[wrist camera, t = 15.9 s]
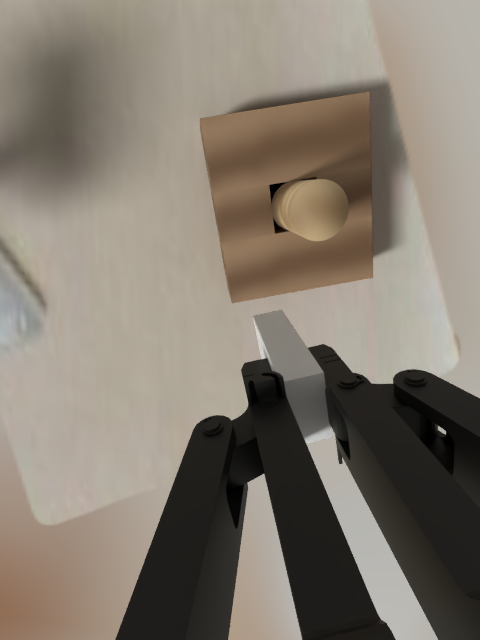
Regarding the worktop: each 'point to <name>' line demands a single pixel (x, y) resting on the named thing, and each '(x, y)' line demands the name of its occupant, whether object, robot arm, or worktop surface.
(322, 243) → the socket block
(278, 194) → the peg
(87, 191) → the worktop surface
